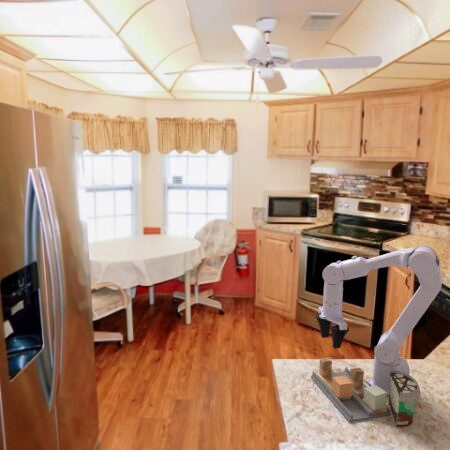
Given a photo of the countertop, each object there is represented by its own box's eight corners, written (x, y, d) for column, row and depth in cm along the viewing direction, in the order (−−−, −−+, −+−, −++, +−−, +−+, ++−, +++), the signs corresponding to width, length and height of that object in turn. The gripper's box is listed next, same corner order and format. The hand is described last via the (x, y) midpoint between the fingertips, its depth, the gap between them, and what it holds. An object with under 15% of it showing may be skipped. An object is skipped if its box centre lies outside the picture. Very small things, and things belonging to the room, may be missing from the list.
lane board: (346, 372, 122) (346, 367, 122) (391, 415, 101) (391, 409, 101) (310, 377, 120) (311, 371, 119) (348, 422, 98) (349, 415, 98)
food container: (424, 434, 94) (427, 397, 93) (397, 430, 95) (400, 393, 94) (410, 404, 106) (413, 370, 105) (387, 401, 107) (389, 368, 106)
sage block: (374, 398, 106) (375, 384, 105) (385, 406, 102) (386, 392, 101) (363, 401, 104) (364, 387, 104) (374, 410, 101) (375, 395, 100)
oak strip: (329, 375, 119) (330, 357, 118) (350, 398, 107) (352, 378, 106) (317, 377, 118) (317, 358, 117) (337, 400, 106) (338, 380, 106)
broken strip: (360, 386, 113) (361, 367, 112) (386, 412, 102) (388, 390, 101) (347, 388, 112) (348, 368, 111) (372, 414, 101) (374, 392, 100)
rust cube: (344, 388, 110) (345, 375, 110) (352, 396, 107) (352, 382, 106) (331, 390, 109) (332, 377, 109) (339, 398, 106) (339, 384, 105)
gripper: (310, 294, 126) (309, 333, 128) (332, 310, 112) (330, 354, 114) (330, 293, 127) (328, 332, 129) (354, 308, 113) (351, 351, 115)
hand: (330, 342), depth 122 cm, fingers open, 7 cm apart
